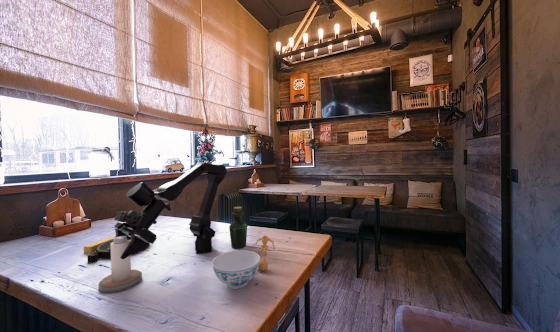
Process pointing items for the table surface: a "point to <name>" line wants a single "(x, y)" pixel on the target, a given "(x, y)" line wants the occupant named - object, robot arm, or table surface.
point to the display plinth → (119, 283)
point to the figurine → (263, 262)
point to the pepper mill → (118, 265)
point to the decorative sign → (102, 249)
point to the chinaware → (236, 267)
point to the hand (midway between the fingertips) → (115, 255)
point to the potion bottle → (238, 230)
